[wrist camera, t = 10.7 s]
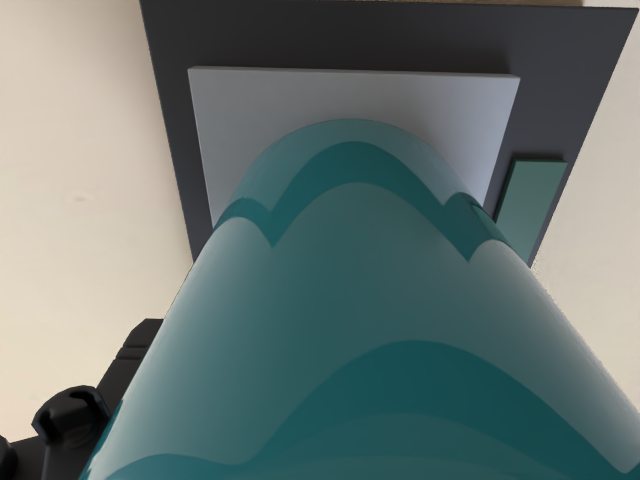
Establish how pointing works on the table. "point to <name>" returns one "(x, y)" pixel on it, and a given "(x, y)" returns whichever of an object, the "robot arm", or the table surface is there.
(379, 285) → the cup
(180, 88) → the scale
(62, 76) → the table surface
